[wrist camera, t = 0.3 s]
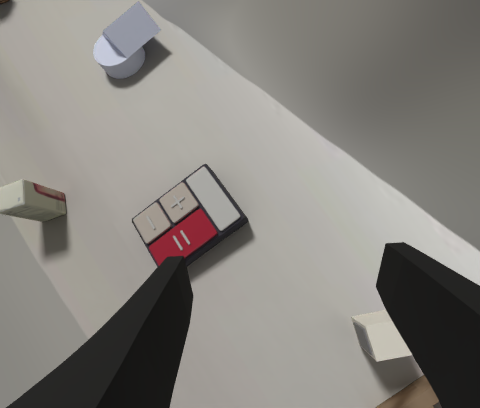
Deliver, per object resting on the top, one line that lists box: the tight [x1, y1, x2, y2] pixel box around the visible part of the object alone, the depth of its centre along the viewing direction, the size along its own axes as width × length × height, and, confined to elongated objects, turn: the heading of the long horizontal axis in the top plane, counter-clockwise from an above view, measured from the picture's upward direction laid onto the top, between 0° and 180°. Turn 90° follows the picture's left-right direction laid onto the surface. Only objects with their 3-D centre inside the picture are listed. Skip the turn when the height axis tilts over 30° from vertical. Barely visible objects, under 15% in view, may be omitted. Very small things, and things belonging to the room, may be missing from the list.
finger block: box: [351, 310, 412, 362], centre depth 31 cm, size 4×5×6 cm
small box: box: [0, 179, 66, 222], centre depth 42 cm, size 5×4×8 cm
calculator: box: [132, 164, 248, 267], centre depth 40 cm, size 11×4×15 cm
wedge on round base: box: [93, 1, 161, 79], centre depth 49 cm, size 9×7×13 cm
